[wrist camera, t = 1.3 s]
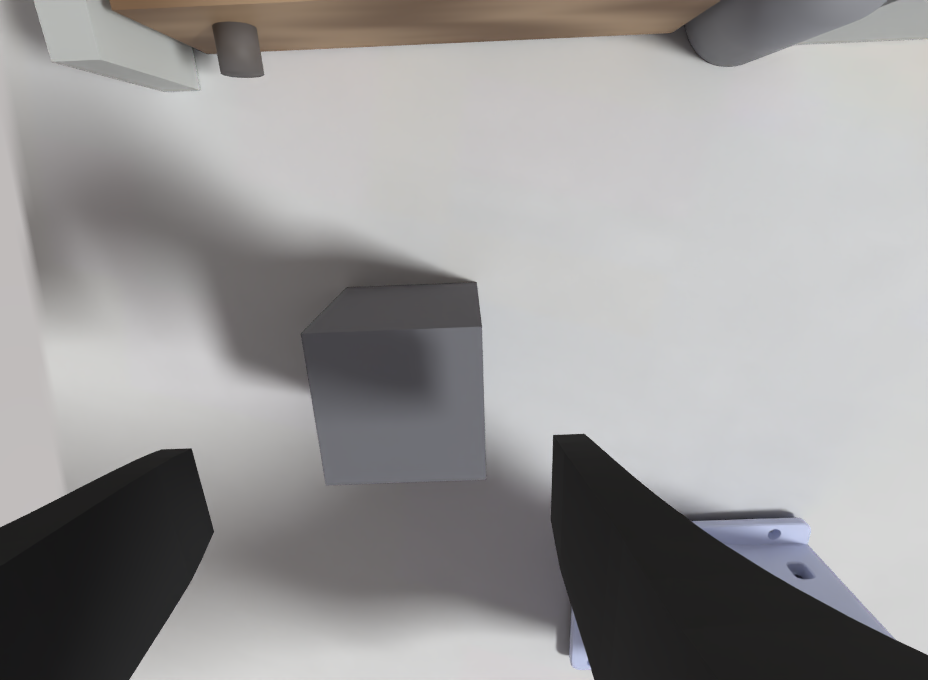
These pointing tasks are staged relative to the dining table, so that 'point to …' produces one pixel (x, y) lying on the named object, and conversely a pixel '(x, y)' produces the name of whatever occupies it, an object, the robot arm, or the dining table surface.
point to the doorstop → (399, 384)
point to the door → (391, 23)
